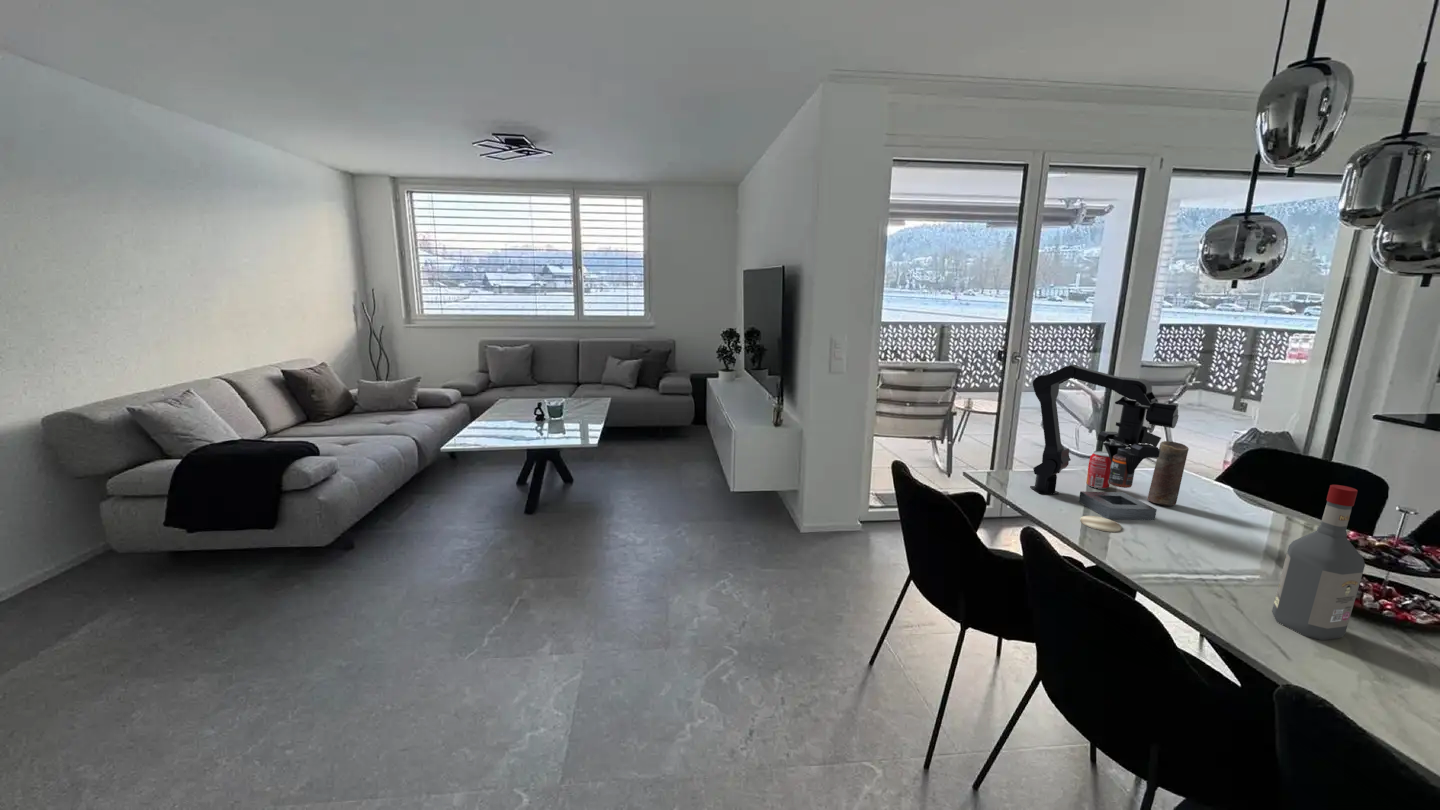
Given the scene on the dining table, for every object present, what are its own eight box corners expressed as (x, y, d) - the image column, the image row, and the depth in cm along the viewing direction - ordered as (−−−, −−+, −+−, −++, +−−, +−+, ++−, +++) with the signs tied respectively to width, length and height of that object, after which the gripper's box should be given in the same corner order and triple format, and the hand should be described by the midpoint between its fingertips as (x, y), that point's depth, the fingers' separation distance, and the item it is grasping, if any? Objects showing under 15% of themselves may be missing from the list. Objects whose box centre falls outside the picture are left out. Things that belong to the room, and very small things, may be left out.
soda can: (1102, 483, 201) (1108, 451, 199) (1113, 490, 194) (1119, 457, 192) (1081, 482, 202) (1086, 450, 199) (1091, 489, 195) (1097, 455, 192)
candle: (1175, 503, 185) (1187, 443, 180) (1178, 510, 179) (1190, 448, 174) (1146, 497, 189) (1157, 439, 184) (1147, 504, 183) (1159, 444, 178)
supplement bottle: (1133, 485, 175) (1140, 449, 172) (1129, 490, 170) (1136, 453, 168) (1110, 480, 179) (1116, 445, 176) (1106, 484, 174) (1112, 449, 172)
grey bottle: (1350, 638, 113) (1392, 495, 107) (1316, 642, 111) (1356, 497, 105) (1296, 612, 122) (1332, 479, 116) (1263, 616, 120) (1298, 480, 114)
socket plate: (1078, 501, 183) (1080, 491, 182) (1121, 502, 183) (1123, 492, 183) (1108, 519, 169) (1110, 508, 169) (1154, 520, 170) (1156, 509, 169)
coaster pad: (1072, 517, 170) (1073, 515, 170) (1105, 518, 170) (1106, 516, 170) (1094, 531, 160) (1094, 529, 160) (1129, 532, 161) (1130, 530, 160)
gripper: (1183, 429, 161) (1172, 482, 165) (1135, 414, 180) (1126, 462, 183) (1144, 428, 161) (1134, 481, 164) (1100, 413, 179) (1092, 461, 183)
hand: (1122, 471), depth 174 cm, fingers closed on supplement bottle, 6 cm apart
